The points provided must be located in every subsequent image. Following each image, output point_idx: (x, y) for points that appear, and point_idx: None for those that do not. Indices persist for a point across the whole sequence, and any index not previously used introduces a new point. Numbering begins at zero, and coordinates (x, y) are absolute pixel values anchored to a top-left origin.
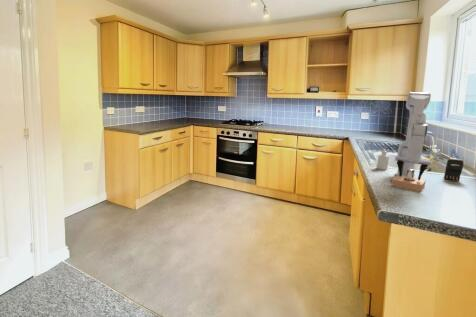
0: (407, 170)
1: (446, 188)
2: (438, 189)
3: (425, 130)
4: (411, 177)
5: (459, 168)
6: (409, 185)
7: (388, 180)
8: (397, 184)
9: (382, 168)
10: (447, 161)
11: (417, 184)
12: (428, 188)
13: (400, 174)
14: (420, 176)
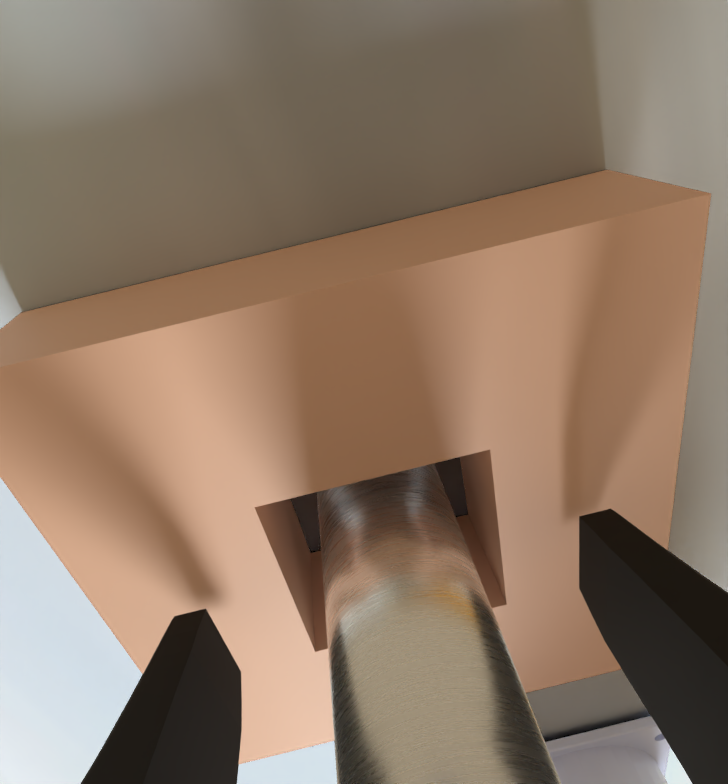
0: (540, 757)
1: (19, 777)
2: (19, 677)
3: None
4: (346, 593)
5: None
6: (246, 285)
7: (706, 447)
8: (506, 205)
9: None
10: None
11: (44, 355)
12: None
13: (627, 542)
14: (123, 715)
